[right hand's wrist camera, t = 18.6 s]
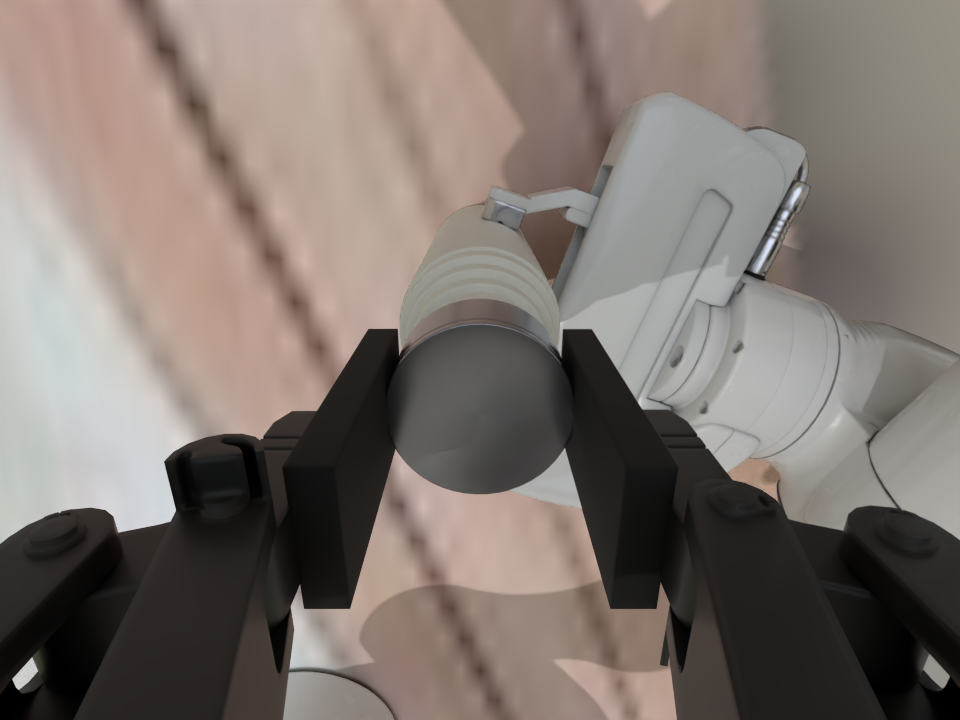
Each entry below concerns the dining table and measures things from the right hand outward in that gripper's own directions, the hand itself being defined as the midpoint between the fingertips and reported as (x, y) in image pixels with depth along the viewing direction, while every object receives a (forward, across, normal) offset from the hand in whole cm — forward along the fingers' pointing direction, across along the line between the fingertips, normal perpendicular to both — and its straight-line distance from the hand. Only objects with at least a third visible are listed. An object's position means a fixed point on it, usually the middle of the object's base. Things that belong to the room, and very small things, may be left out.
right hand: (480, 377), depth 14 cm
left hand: (+12, -1, 0) cm, 12 cm away
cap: (-2, 0, 0) cm, 2 cm away
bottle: (+19, 0, 0) cm, 19 cm away
